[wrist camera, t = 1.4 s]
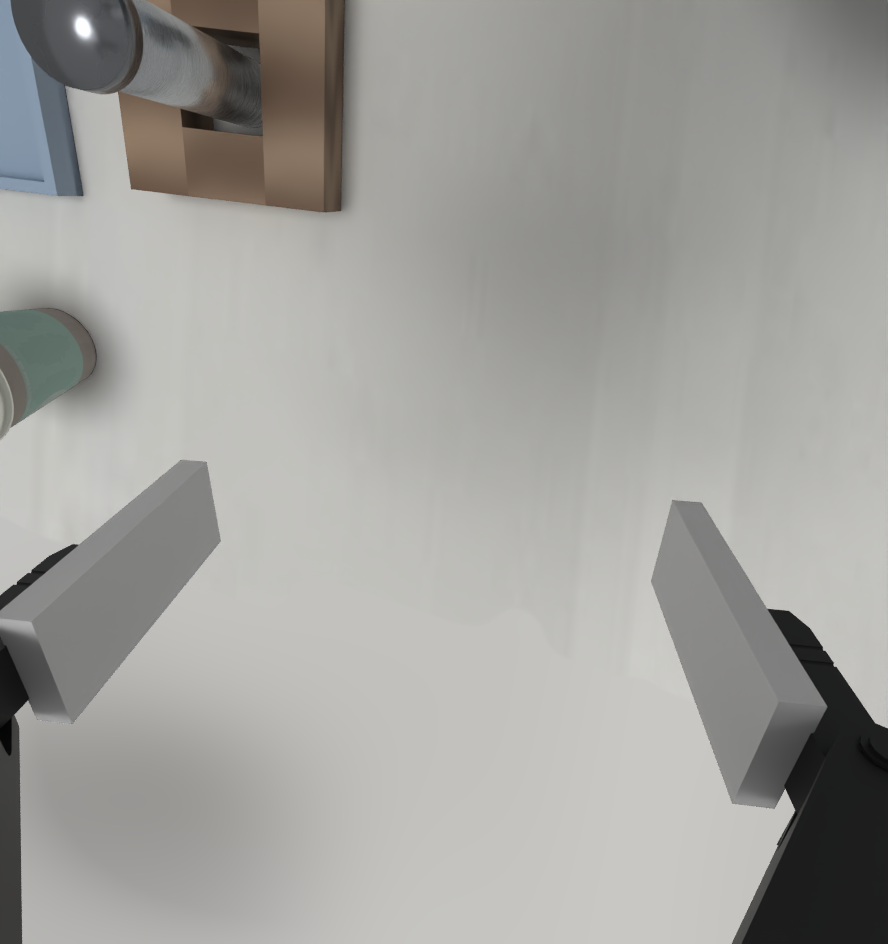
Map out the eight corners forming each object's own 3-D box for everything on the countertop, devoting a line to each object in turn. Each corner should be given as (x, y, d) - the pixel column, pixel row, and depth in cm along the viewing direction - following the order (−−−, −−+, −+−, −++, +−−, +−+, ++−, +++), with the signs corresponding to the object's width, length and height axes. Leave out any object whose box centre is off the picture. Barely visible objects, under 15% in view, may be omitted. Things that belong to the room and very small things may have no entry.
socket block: (141, -42, 32) (96, -72, 28) (345, -20, 32) (325, -48, 28) (166, 189, 37) (131, 189, 34) (340, 210, 37) (323, 212, 33)
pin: (212, 49, 34) (-3, -63, 19) (280, 56, 34) (114, -51, 19) (218, 129, 36) (25, 82, 21) (281, 136, 35) (132, 94, 21)
